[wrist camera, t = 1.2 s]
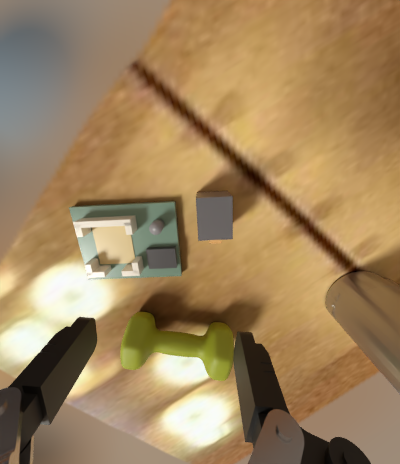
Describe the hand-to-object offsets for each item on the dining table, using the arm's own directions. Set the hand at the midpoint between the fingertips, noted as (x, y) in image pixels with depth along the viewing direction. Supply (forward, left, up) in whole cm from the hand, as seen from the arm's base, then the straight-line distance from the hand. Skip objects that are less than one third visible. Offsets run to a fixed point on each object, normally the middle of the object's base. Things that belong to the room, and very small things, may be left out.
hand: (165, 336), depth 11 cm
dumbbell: (+2, +17, -18) cm, 25 cm away
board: (+8, +1, -18) cm, 20 cm away
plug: (-4, -3, -18) cm, 19 cm away
